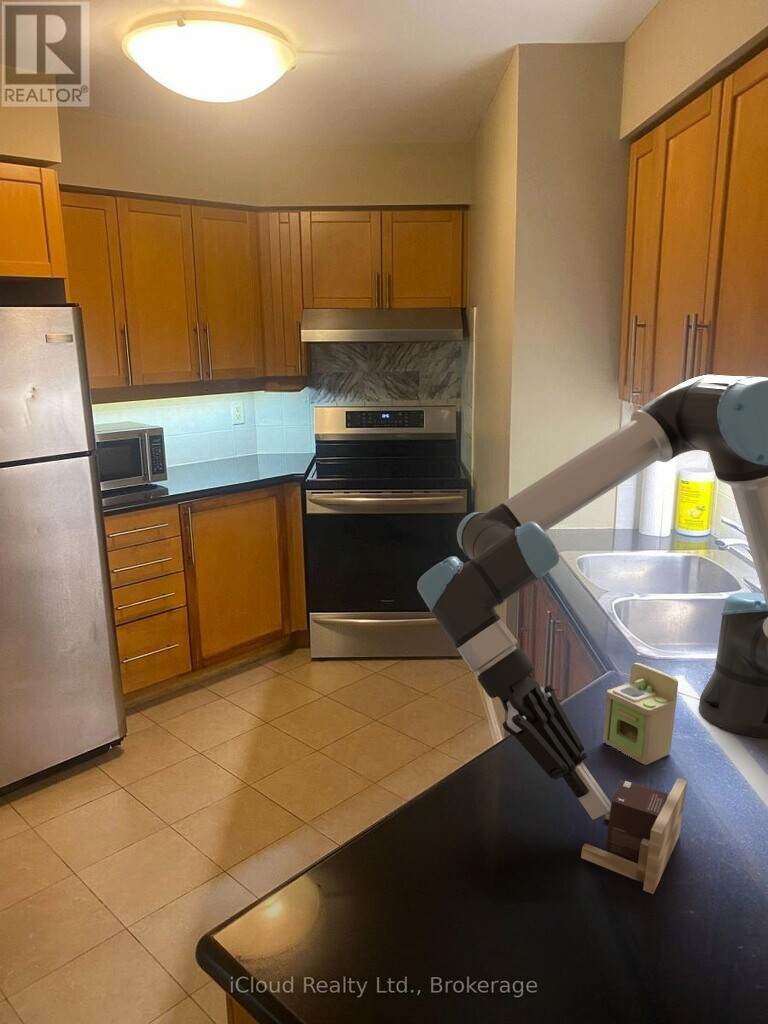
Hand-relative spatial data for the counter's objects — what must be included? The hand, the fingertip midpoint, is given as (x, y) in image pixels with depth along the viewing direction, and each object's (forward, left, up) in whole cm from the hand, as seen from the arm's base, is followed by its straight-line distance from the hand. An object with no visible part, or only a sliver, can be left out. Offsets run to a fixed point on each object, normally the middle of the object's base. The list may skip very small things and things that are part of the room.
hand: (602, 812), depth 98 cm
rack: (0, +3, -4) cm, 5 cm away
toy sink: (-27, -3, -4) cm, 27 cm away
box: (0, +4, -4) cm, 6 cm away
